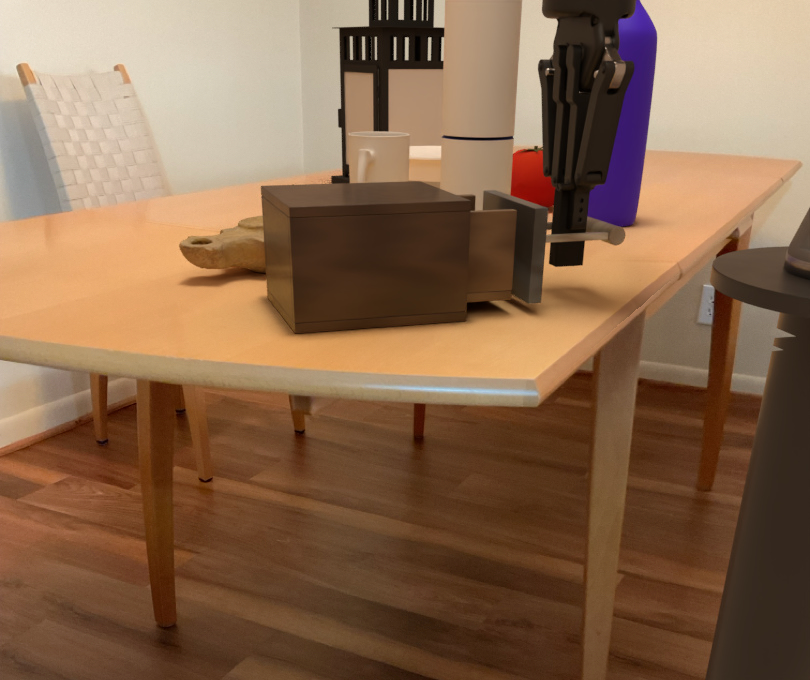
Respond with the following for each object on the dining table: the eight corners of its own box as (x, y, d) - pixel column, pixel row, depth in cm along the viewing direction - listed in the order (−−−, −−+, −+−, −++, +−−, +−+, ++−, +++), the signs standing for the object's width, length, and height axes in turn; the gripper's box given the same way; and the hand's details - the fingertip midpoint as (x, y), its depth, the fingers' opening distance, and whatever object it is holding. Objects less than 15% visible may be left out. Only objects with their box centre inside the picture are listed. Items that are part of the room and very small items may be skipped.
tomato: (561, 203, 138) (566, 143, 134) (571, 214, 129) (576, 149, 125) (499, 202, 138) (502, 142, 134) (504, 213, 129) (508, 148, 125)
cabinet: (419, 288, 87) (420, 180, 83) (466, 321, 77) (471, 200, 72) (267, 297, 83) (260, 185, 79) (295, 333, 73) (289, 206, 68)
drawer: (572, 270, 91) (580, 187, 87) (631, 296, 81) (643, 204, 78) (355, 283, 85) (354, 194, 81) (391, 313, 75) (391, 214, 71)
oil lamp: (175, 283, 88) (169, 229, 86) (238, 255, 100) (235, 207, 98) (277, 291, 85) (274, 236, 83) (330, 262, 98) (328, 213, 95)
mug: (361, 240, 109) (360, 130, 103) (415, 244, 107) (417, 132, 102) (331, 256, 100) (327, 137, 95) (388, 260, 99) (389, 139, 93)
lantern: (331, 183, 156) (324, -61, 140) (418, 177, 164) (422, -55, 147) (378, 195, 143) (377, -72, 127) (471, 189, 151) (481, -64, 134)
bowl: (474, 209, 132) (477, 145, 128) (514, 227, 118) (519, 156, 114) (366, 212, 128) (366, 146, 124) (395, 232, 114) (395, 158, 110)
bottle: (638, 228, 118) (671, -46, 104) (573, 226, 120) (598, -45, 105) (635, 218, 126) (666, -39, 111) (574, 216, 127) (597, -39, 113)
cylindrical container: (434, 272, 94) (441, -13, 82) (441, 258, 100) (449, -8, 88) (504, 275, 93) (521, -12, 81) (507, 261, 99) (523, -8, 87)
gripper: (516, -34, 77) (500, 253, 89) (588, -48, 66) (560, 282, 78) (595, -31, 79) (570, 249, 91) (678, -44, 68) (638, 277, 80)
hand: (565, 264), depth 84 cm, fingers closed
